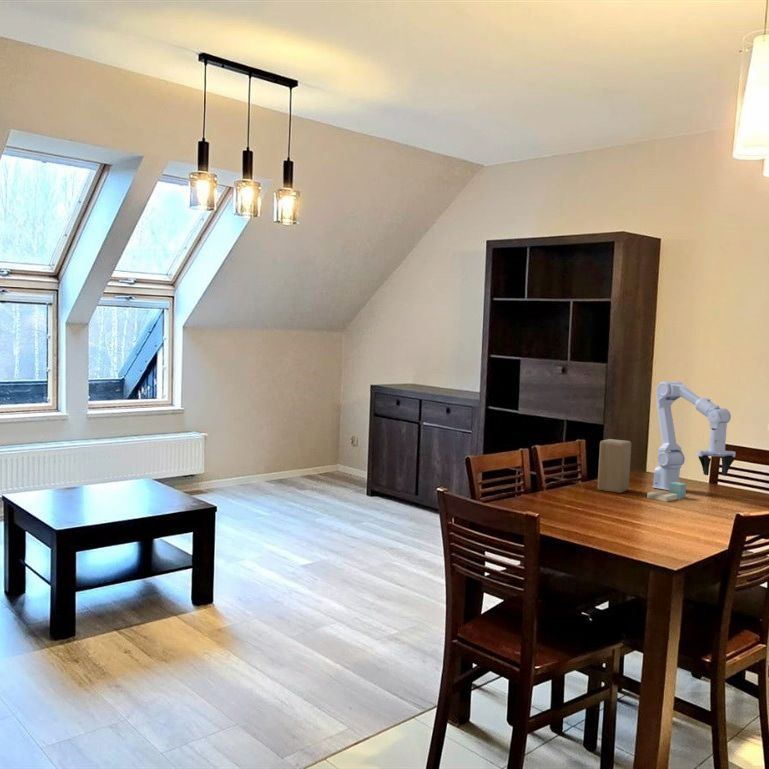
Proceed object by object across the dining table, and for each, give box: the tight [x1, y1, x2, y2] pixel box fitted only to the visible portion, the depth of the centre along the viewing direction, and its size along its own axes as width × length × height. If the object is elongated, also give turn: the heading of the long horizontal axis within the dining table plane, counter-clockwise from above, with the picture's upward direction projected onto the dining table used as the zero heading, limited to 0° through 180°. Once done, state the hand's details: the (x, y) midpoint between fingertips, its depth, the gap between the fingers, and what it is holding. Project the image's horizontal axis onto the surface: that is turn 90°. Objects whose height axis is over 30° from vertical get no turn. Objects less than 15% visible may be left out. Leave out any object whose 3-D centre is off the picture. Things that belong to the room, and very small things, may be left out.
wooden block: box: [597, 438, 632, 494], centre depth 308 cm, size 10×10×20 cm
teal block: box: [668, 481, 687, 500], centre depth 299 cm, size 4×4×6 cm
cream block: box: [646, 490, 678, 502], centre depth 296 cm, size 8×8×2 cm
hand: (715, 474), depth 296 cm, fingers open, 7 cm apart
